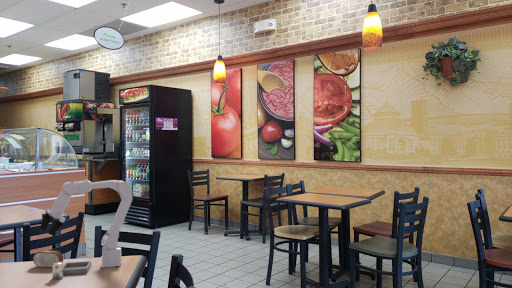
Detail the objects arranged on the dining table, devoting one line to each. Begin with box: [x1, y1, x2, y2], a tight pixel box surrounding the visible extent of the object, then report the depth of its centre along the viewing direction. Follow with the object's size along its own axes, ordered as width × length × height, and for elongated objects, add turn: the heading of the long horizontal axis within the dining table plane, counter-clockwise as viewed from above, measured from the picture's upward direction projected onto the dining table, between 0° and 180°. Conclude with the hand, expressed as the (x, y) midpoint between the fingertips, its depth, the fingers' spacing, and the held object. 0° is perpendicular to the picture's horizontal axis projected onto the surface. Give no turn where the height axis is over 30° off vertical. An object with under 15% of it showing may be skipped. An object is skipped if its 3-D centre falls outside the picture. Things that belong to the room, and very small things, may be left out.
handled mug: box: [52, 261, 64, 281], centre depth 179 cm, size 4×6×7 cm
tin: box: [32, 249, 64, 269], centre depth 196 cm, size 15×3×8 cm, turn 84°
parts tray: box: [63, 260, 92, 276], centre depth 191 cm, size 12×12×2 cm
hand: (46, 231), depth 184 cm, fingers open, 7 cm apart
